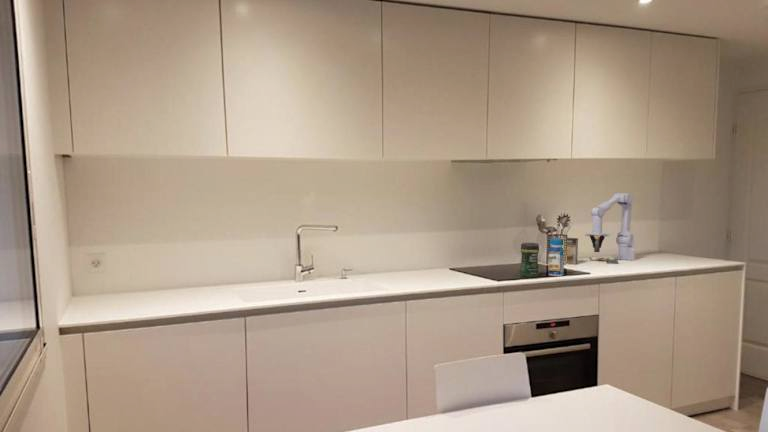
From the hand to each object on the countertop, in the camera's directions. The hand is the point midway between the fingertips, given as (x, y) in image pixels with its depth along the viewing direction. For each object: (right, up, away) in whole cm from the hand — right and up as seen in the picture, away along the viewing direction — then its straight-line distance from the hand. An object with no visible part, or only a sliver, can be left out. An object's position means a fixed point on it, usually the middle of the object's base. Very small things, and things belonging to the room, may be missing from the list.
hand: (596, 247), depth 333 cm
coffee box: (-19, -10, -3) cm, 22 cm away
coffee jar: (-56, -13, -47) cm, 74 cm away
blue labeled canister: (-41, -13, -43) cm, 61 cm away
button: (+9, -10, -2) cm, 13 cm away
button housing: (+9, -10, -2) cm, 13 cm away
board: (+6, -9, +10) cm, 15 cm away
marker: (0, -3, 0) cm, 3 cm away
